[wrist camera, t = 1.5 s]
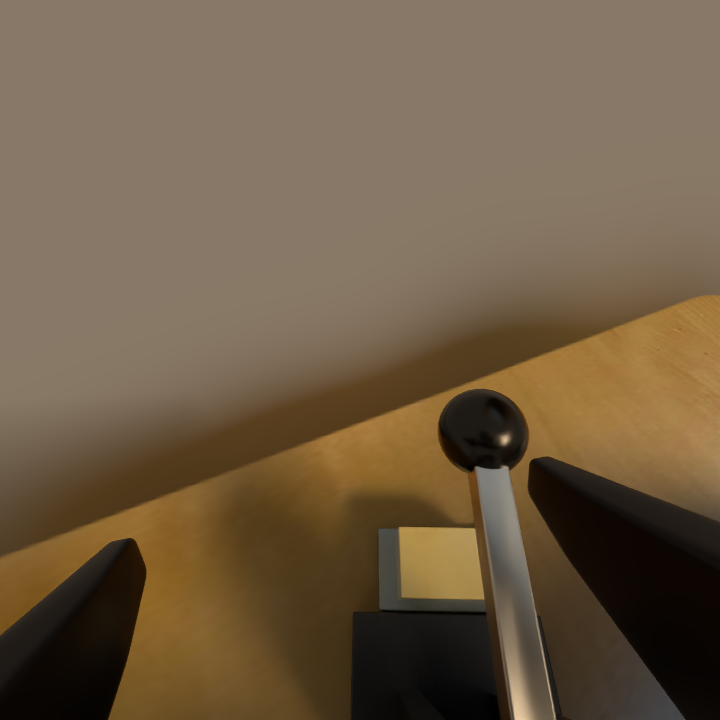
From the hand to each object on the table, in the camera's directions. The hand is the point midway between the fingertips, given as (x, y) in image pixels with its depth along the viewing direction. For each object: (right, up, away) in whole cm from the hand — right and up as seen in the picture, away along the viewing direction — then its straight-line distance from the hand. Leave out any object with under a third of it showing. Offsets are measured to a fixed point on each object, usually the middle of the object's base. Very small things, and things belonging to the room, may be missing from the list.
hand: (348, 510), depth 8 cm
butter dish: (+4, -8, +12) cm, 15 cm away
